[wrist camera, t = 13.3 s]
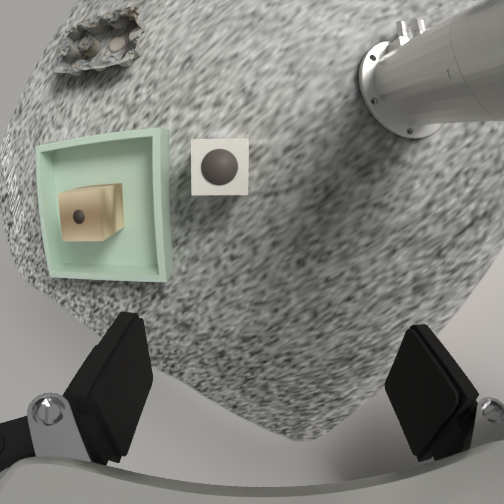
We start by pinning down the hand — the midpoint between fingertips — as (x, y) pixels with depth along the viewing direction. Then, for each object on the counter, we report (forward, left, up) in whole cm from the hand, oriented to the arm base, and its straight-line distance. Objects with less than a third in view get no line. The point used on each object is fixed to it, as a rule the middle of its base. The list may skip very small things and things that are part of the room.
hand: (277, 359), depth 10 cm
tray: (-2, -17, -24) cm, 30 cm away
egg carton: (-21, -18, -25) cm, 37 cm away
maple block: (-2, -17, -23) cm, 29 cm away
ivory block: (-6, -3, -24) cm, 25 cm away
